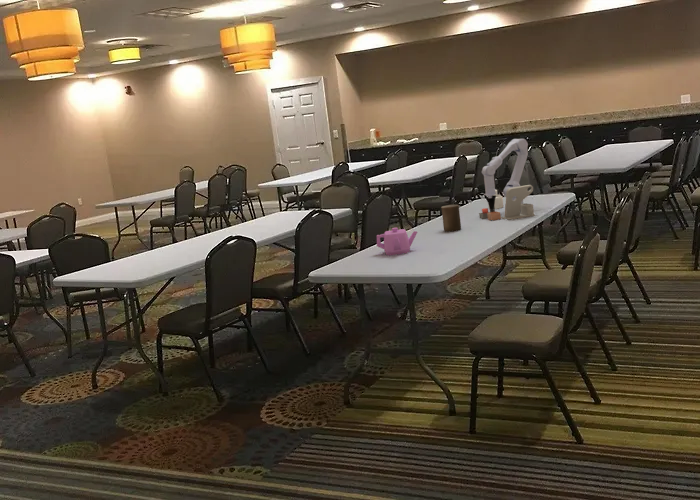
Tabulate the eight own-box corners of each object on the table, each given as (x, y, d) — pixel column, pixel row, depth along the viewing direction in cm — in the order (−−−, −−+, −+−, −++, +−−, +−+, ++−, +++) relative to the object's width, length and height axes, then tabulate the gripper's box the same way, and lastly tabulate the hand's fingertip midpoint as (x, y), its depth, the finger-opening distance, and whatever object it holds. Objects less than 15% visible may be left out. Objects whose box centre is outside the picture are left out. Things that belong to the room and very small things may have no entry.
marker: (495, 211, 436) (494, 197, 434) (495, 211, 433) (493, 198, 431) (490, 211, 437) (488, 198, 435) (489, 212, 434) (488, 199, 432)
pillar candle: (460, 230, 399) (458, 203, 396) (443, 232, 401) (440, 205, 399) (461, 227, 408) (459, 201, 406) (444, 229, 411) (441, 203, 408)
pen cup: (496, 218, 424) (496, 211, 423) (500, 219, 419) (500, 212, 418) (488, 219, 423) (487, 212, 422) (491, 220, 418) (491, 213, 417)
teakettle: (396, 247, 376) (393, 224, 374) (421, 249, 364) (418, 224, 361) (373, 255, 365) (370, 231, 362) (398, 256, 352) (395, 231, 350)
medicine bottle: (493, 207, 468) (491, 188, 466) (503, 206, 463) (501, 188, 461) (488, 209, 462) (486, 190, 460) (499, 208, 458) (497, 190, 456)
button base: (488, 216, 434) (487, 211, 433) (492, 217, 428) (491, 212, 428) (479, 218, 433) (479, 213, 432) (483, 219, 427) (482, 214, 427)
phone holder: (527, 213, 426) (524, 183, 422) (536, 215, 416) (533, 184, 413) (500, 218, 421) (497, 188, 418) (509, 220, 412) (506, 189, 408)
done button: (486, 212, 432) (486, 208, 431) (489, 213, 429) (488, 208, 428) (481, 213, 431) (481, 208, 431) (483, 214, 428) (483, 209, 427)
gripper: (484, 185, 440) (486, 207, 442) (481, 188, 426) (484, 211, 429) (495, 183, 438) (498, 206, 440) (494, 187, 424) (496, 209, 426)
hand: (492, 208), depth 434 cm, fingers closed on marker, 3 cm apart
